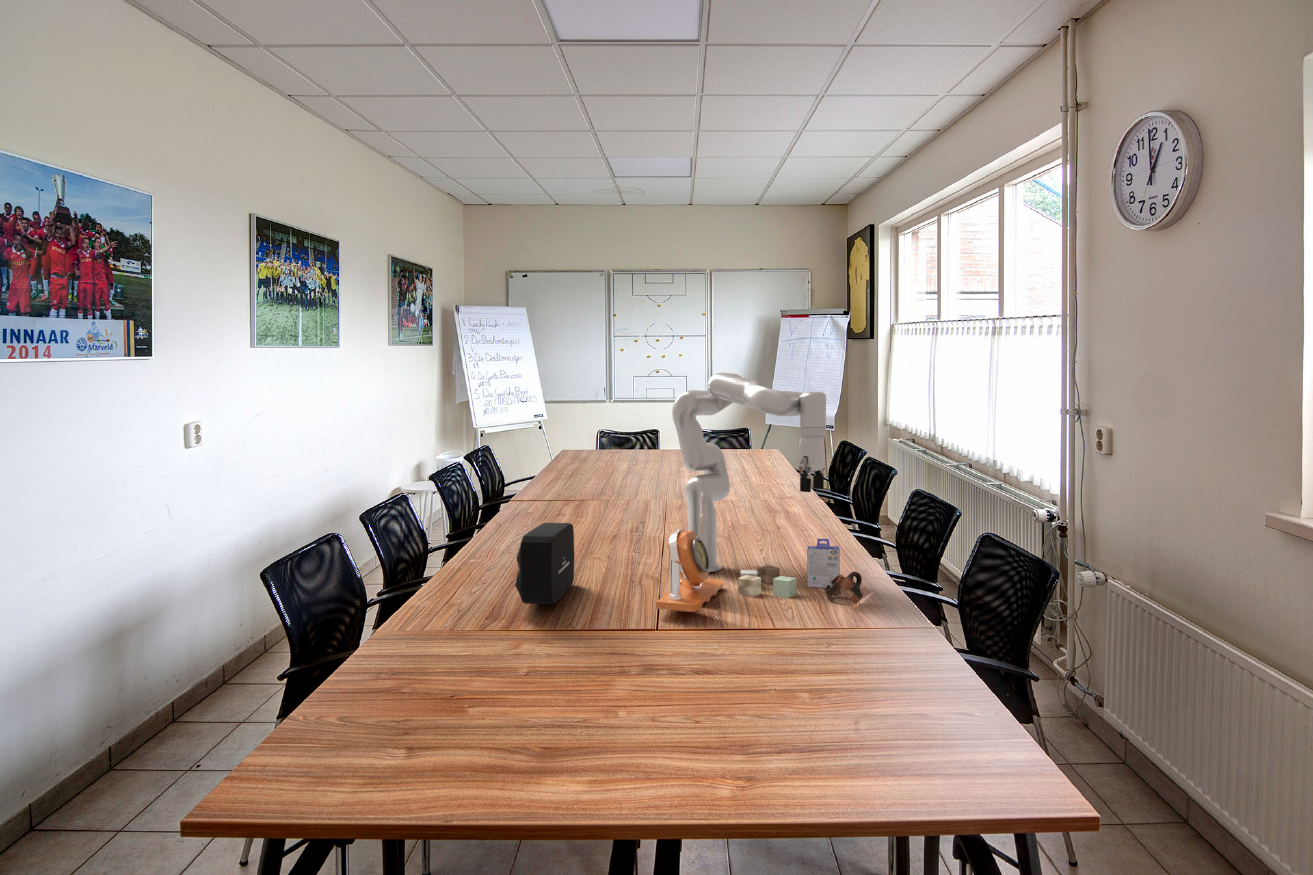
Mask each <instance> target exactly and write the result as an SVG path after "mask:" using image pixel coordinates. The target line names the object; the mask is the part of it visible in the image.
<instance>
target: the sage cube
mask: <svg viewBox="0 0 1313 875" xmlns="http://www.w3.org/2000/svg"><path fill="white" fill-rule="evenodd" d="M772 588H773V589H772V590H773V591H772V592H773V594H772V596H774V597H778V598H779V597H780V598H785V599H790V598H792V597H794V596H797V578H796V577H790V576H784V575H780V576H779V577H777V578H775V579H773V583H772Z"/></svg>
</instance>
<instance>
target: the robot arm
mask: <svg viewBox="0 0 1313 875" xmlns="http://www.w3.org/2000/svg"><path fill="white" fill-rule="evenodd" d="M707 389H708V390H701V389H700V390H699V389H698V390H697V389H694V390H693V389H692V390H691V389H690V390H685V391H683V392H682V393H680V394H678V396H677V397H676V399H675V401H674V402H673V405H672V411H671V412H672V420H673V425H674V426H675V430H676V433H677V437H678V438H677V440H678V443H679V448H680V452H681V457H682V461H683V462H682V463H683V465H684V467H685V468H686V470H688V471H690V472H702V474H698V475H695V476H692V477H691V478H689V480H688V481H687V483H686V485H685V488H684V492H685V498H686V499H685V500H686V504H687V523H688V526H687V528H688V529H687V531H690V530H693V531H694V532H695V534H696V535H697V536H698V537H699V538H700V539H701V540H702V541H703V543H704V545H705V547H706V549H707V552H708V556H709V561H710V569H709V571H708V572H709V573H713V572H718V571H720V570H721V569H722V564H720V563H718V560H717V558H718V557H717V556H718V555H717V554H718V552H717V546H718V544H717V537H718V536H717V529H718V528H717V526H718V525H717V522H718V521H717V520H718V519H717V512H716V508H715V505H714V502H718V501H722V500H724V499H725V498H727V496H729V493H730V490H731V483H730V477H729V473H728V469H727V463H726V459H725V456H724V453H723V451H722V449H721V448H720V447H719V445H717V444H716V443H714V442H713V443H712V442H706V440H705V438H704V432H703V429H702V426H701V424H700V423H699V421H698V419H697V418H696V417H697V416H714V415H716V414H718V413H720V412H722V411H723V410H725V409H726V408H727V407H729V406H731V405H732V404H733V403H734V404H738V405H741V406H745V407H748V408H749V409H753V410H755V411H758V412H760V413H765V414H769V415H771V416H775V417H776V416H777V417H799V438H800V439H799V443H798V454H797V455H798V456H797V470H798V472H799V492H801V493H811V492H812V488H813V489H814V490H824V487H825V486H824V485H825V484H824V483H825V482H824V481H825V480H824V479H825V469H826V468H825V465H826V459H825V458H826V454H825V453H826V452H825V439H826V438H827V437H826V436H827V435H826V434H827V432H826V430H827V429H826V428H827V427H826V426H827V396H826V393H824V392H823V391H804V392H800V391H791V390H790V391H787V390H778V389H772V388H770V387H765V386H762V385H760V384H759V382H758V381H756V380H754V379H749V378H746V377H743V376H741V375H740V374H737V373H734V372H733V373H730V372H717V373H715V374H713V375H712V376H711V377H709V379H708V382H707ZM812 473H813V474H814V475H812ZM811 475H812V477H813V478H811Z"/></svg>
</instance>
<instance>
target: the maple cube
mask: <svg viewBox="0 0 1313 875" xmlns="http://www.w3.org/2000/svg"><path fill="white" fill-rule="evenodd" d="M761 594H762V582H761V577H756V576H749V575H745V576H743V577H741V576H740V577H738V578H737V595H738V596H743V597H749V598H754V597H757V596H759V595H761Z"/></svg>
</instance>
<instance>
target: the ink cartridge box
mask: <svg viewBox="0 0 1313 875" xmlns="http://www.w3.org/2000/svg"><path fill="white" fill-rule="evenodd" d="M816 540H817V542H816V545H807V549H806V550H807V553H806V558H807V559H806V560H807V561H806V562H807V564H806V565H807V568H806V569H807V570H806V572H807V579H806V580H807V588H809V587H810V588H826V587H827V585H829V586H830V587H831V586H832V585H833V584H832V583H831V581H832V580H833V579H834V578H835V577H837V576H838V575H840V574H841V573H840V572H841V552H840V550H841V549H840V547H839V546H837V545H833V546H831V545H830V539H829V538H817V539H816ZM825 542H826V543H825Z"/></svg>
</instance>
